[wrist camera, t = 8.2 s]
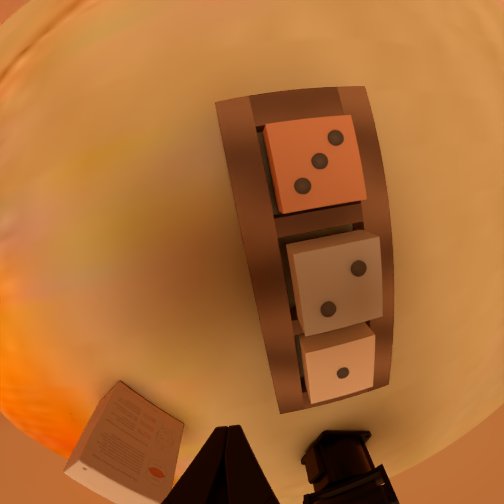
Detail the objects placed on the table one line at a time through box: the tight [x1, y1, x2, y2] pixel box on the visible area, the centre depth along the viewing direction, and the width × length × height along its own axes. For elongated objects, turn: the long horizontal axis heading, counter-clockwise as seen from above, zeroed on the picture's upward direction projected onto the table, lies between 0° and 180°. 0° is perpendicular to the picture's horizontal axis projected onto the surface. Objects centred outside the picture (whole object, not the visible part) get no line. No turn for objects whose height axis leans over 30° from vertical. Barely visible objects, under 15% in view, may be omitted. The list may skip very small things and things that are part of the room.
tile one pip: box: [298, 322, 375, 404], centre depth 19 cm, size 5×5×3 cm
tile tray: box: [215, 86, 394, 414], centre depth 19 cm, size 24×10×2 cm, turn 11°
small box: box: [64, 381, 184, 504], centre depth 18 cm, size 8×6×10 cm
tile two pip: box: [286, 230, 383, 337], centre depth 16 cm, size 5×5×3 cm
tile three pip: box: [262, 115, 367, 214], centre depth 15 cm, size 5×5×3 cm
